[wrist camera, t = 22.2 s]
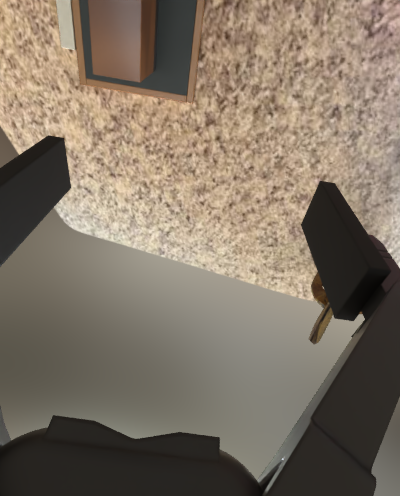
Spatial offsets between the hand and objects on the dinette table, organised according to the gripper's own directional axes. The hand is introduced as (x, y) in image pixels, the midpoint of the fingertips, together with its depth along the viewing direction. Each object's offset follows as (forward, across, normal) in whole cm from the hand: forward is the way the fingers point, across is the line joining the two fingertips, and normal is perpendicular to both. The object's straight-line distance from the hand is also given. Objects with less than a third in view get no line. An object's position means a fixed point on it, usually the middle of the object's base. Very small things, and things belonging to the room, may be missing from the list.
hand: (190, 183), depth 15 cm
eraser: (+26, -9, +7) cm, 28 cm away
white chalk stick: (+26, -16, +4) cm, 31 cm away
